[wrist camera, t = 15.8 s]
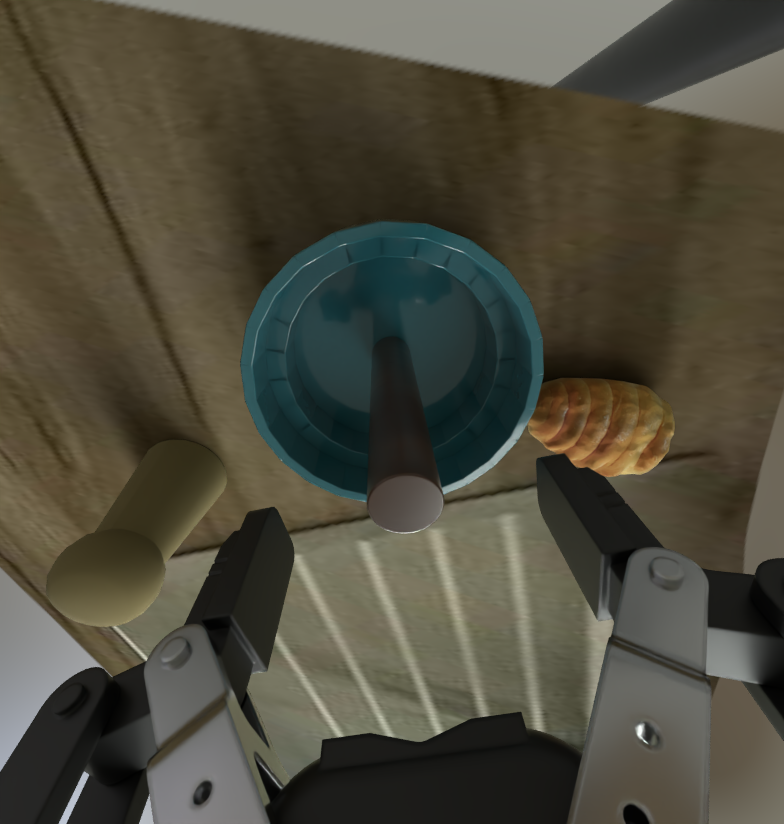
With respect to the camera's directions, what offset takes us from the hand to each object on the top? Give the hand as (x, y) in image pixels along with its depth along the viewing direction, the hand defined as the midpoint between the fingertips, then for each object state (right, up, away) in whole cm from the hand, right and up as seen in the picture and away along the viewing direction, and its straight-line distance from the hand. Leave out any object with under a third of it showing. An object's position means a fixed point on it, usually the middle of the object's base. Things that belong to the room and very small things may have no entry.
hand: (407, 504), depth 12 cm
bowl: (-1, +7, +13) cm, 15 cm away
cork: (-16, -2, +17) cm, 24 cm away
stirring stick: (-1, +6, +12) cm, 14 cm away
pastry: (+14, +2, +16) cm, 21 cm away
